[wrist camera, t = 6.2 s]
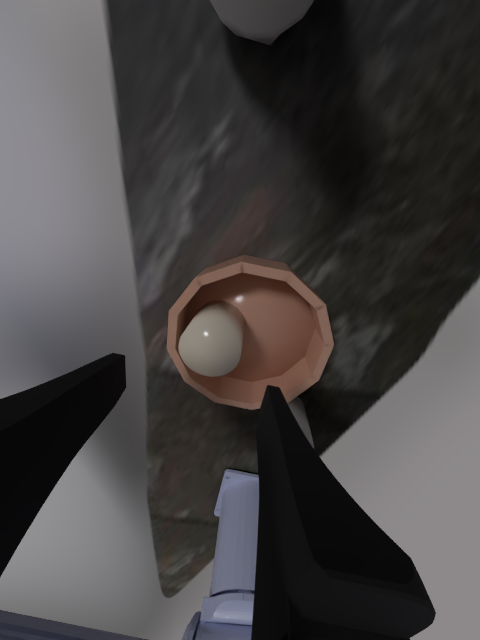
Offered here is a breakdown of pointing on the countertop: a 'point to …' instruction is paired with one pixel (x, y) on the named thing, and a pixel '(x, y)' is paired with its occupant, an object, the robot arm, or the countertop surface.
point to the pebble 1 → (213, 339)
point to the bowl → (258, 330)
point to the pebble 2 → (301, 417)
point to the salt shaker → (260, 17)
